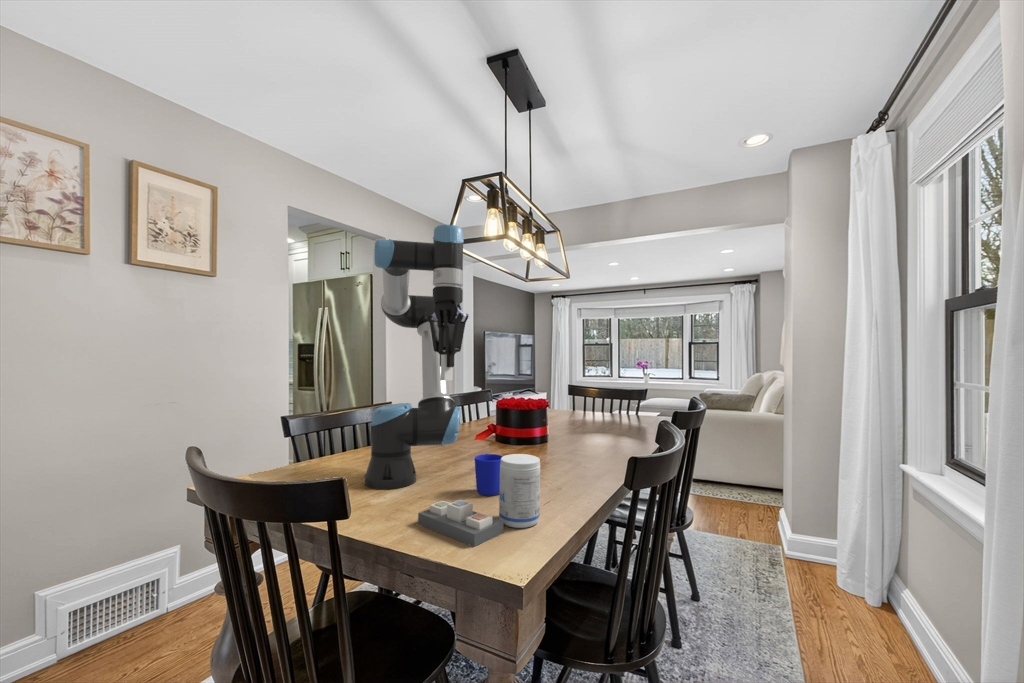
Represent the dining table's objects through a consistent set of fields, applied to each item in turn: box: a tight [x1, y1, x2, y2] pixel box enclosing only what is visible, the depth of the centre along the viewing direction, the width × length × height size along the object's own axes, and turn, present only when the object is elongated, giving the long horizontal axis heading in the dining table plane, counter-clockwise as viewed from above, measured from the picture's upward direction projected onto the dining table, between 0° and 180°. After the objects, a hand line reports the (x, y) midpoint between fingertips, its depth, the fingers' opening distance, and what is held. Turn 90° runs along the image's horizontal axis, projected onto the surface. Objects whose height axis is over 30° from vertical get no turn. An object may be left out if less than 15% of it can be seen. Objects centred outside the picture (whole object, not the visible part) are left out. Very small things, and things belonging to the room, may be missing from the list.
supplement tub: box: [498, 453, 541, 529], centre depth 101 cm, size 10×10×15 cm
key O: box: [466, 512, 493, 530], centre depth 93 cm, size 4×4×3 cm
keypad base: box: [417, 508, 504, 547], centre depth 97 cm, size 18×9×2 cm, turn 51°
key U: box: [447, 499, 474, 523], centre depth 97 cm, size 4×4×3 cm
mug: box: [474, 453, 504, 497], centre depth 121 cm, size 8×12×10 cm
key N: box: [429, 500, 451, 516], centre depth 100 cm, size 4×4×3 cm
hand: (446, 380), depth 109 cm, fingers closed
